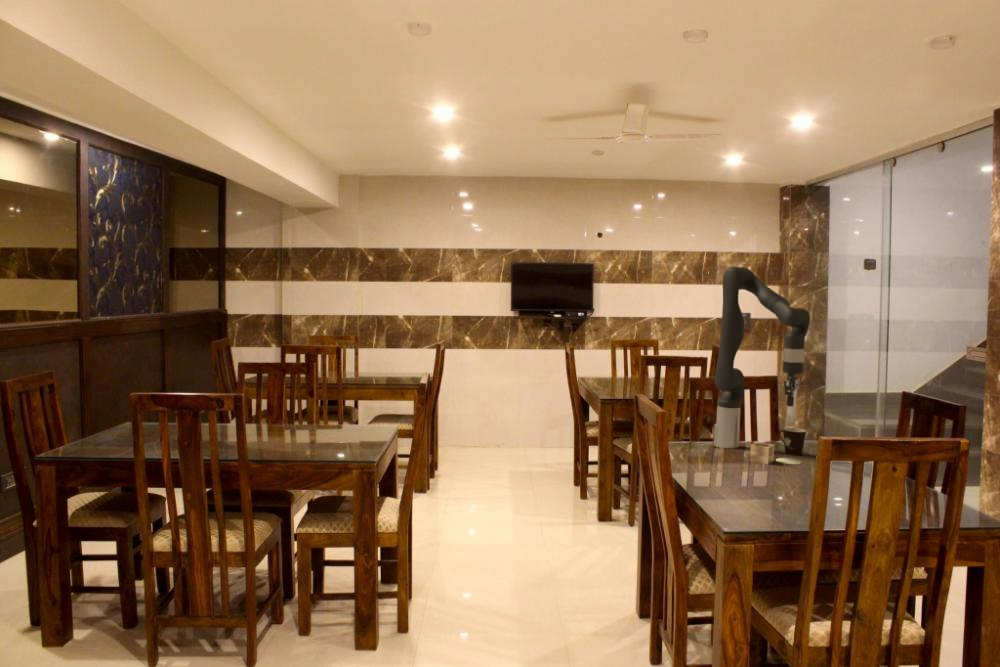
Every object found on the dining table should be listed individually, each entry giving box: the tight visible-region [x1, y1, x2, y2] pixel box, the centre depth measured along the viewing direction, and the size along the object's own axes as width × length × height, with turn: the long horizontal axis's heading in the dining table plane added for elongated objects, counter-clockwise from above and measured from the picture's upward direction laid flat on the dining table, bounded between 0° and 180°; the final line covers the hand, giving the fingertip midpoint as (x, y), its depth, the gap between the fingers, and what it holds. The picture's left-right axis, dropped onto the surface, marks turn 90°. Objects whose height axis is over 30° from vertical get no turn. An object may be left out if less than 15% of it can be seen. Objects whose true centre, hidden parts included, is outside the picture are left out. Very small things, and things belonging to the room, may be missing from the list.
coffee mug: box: [778, 427, 807, 457], centre depth 292 cm, size 12×9×10 cm
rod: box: [786, 389, 798, 427], centre depth 274 cm, size 3×3×14 cm
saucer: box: [775, 457, 802, 465], centre depth 275 cm, size 9×9×1 cm
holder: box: [749, 442, 775, 465], centre depth 275 cm, size 7×7×7 cm
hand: (791, 405), depth 274 cm, fingers closed on rod, 3 cm apart
